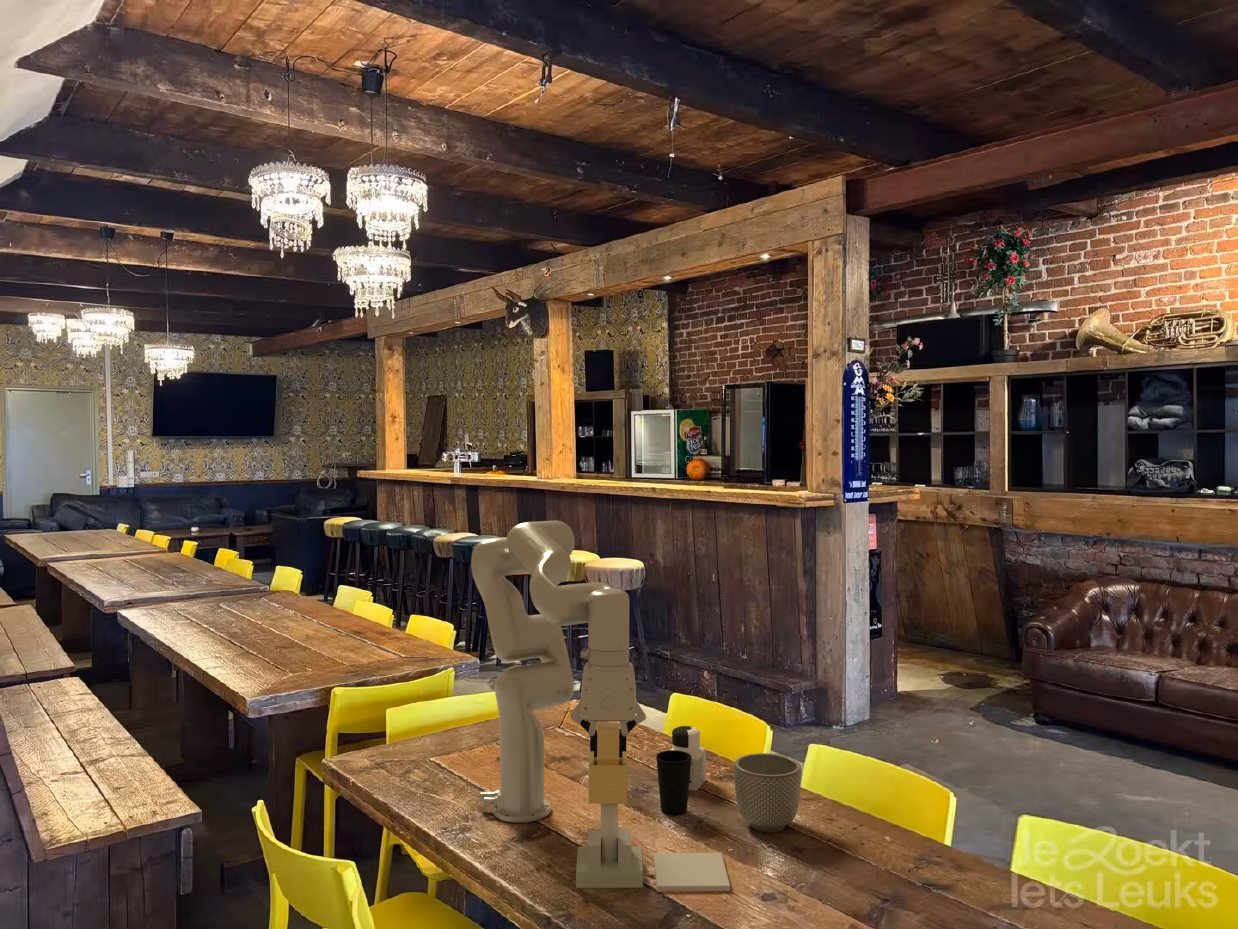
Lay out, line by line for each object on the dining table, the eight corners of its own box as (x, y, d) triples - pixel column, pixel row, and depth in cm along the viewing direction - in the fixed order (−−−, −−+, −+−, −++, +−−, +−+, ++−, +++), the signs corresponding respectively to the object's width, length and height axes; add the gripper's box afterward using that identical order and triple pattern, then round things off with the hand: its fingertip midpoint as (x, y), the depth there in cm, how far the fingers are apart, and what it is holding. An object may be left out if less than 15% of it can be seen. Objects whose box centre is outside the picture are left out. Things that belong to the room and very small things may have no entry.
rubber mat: (657, 891, 160) (657, 886, 160) (653, 858, 173) (653, 853, 173) (730, 891, 160) (730, 885, 160) (721, 857, 173) (721, 852, 173)
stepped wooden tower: (588, 803, 163) (588, 732, 162) (589, 788, 170) (589, 720, 169) (627, 803, 163) (627, 732, 162) (626, 788, 170) (626, 720, 169)
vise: (576, 888, 161) (575, 805, 161) (578, 862, 171) (577, 784, 171) (642, 887, 161) (642, 804, 161) (640, 862, 171) (640, 784, 171)
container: (665, 786, 209) (665, 731, 209) (675, 775, 216) (675, 722, 216) (696, 791, 206) (696, 735, 206) (706, 780, 213) (706, 725, 213)
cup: (689, 819, 191) (689, 763, 190) (653, 816, 192) (653, 761, 192) (693, 805, 198) (693, 751, 198) (659, 802, 200) (659, 749, 199)
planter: (786, 846, 178) (786, 781, 178) (722, 830, 185) (722, 768, 185) (811, 821, 190) (811, 760, 189) (750, 807, 197) (750, 748, 197)
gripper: (562, 662, 161) (561, 762, 162) (655, 662, 162) (654, 762, 162) (564, 652, 169) (563, 748, 170) (653, 652, 169) (652, 748, 170)
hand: (608, 754), depth 166 cm, fingers closed on stepped wooden tower, 4 cm apart
